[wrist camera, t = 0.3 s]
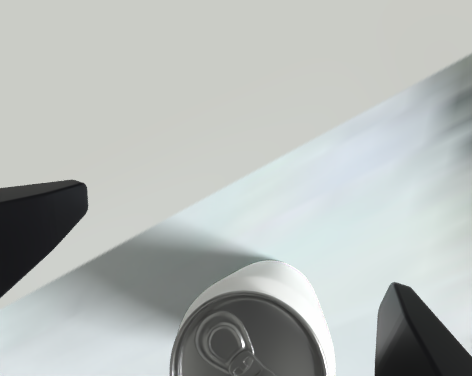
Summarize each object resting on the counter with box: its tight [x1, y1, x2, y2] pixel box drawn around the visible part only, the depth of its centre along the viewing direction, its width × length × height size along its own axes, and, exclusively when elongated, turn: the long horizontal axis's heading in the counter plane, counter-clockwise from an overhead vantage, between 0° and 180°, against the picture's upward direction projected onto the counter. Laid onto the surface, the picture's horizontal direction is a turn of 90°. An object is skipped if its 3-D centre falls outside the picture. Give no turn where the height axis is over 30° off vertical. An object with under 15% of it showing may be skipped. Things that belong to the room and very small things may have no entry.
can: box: [170, 260, 335, 376], centre depth 17 cm, size 6×6×12 cm
